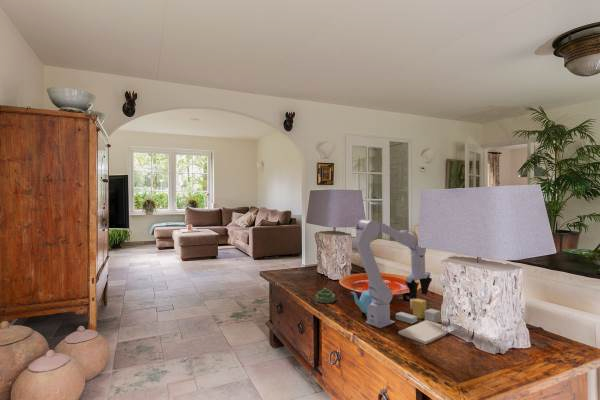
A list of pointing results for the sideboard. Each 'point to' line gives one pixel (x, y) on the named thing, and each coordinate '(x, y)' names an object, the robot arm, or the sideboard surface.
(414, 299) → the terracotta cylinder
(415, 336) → the cream board
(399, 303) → the sideboard surface
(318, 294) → the decorative artifact
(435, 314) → the grey cube
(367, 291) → the teapot
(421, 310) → the mustard block
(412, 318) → the blue-grey slab
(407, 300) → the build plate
